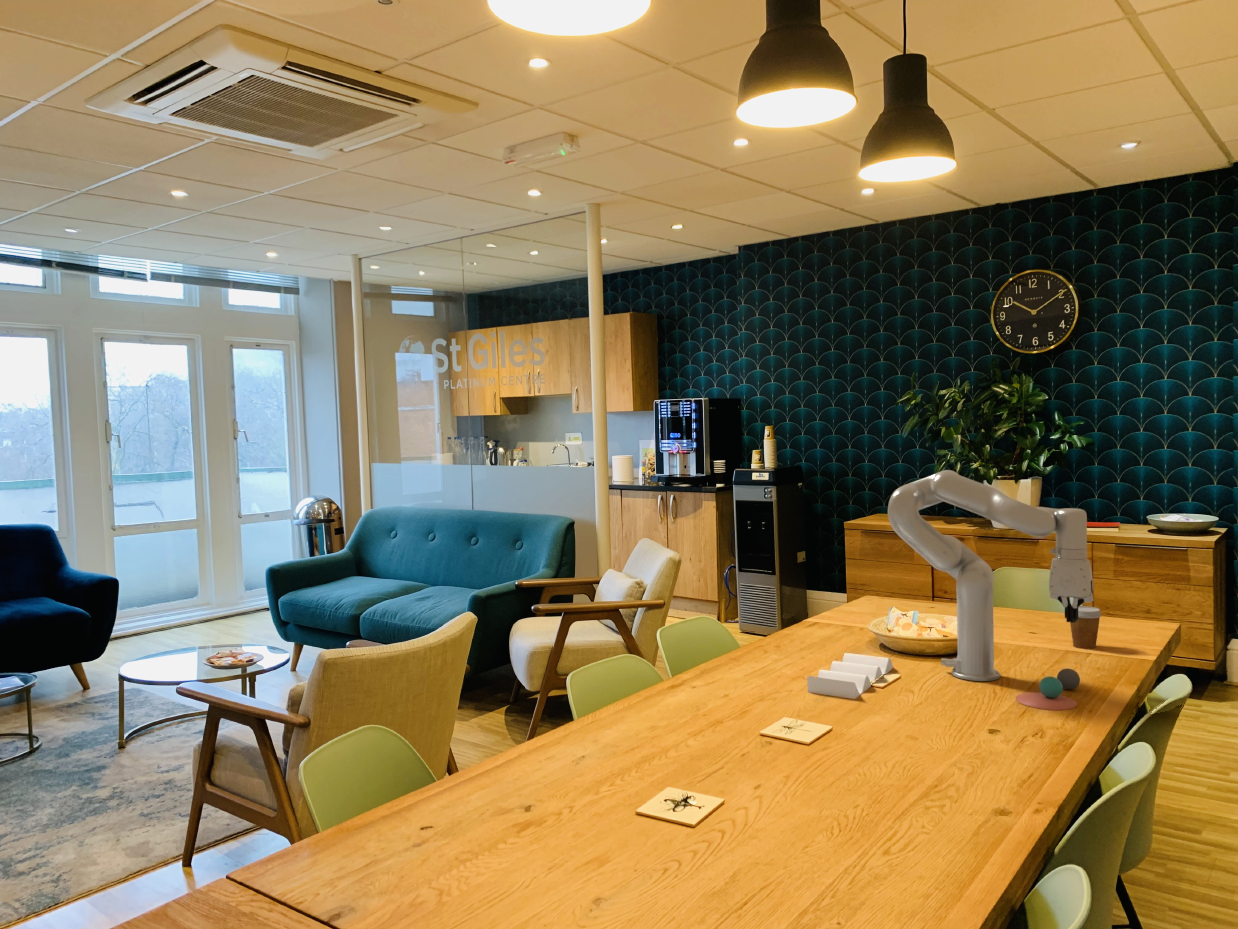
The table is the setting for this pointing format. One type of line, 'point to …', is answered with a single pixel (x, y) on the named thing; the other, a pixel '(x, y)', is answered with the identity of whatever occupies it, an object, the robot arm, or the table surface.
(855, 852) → the table surface
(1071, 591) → the robot arm
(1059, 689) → the object ball
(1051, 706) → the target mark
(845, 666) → the white taco holder
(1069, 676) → the gray ball
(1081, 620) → the disposable coffee cup
